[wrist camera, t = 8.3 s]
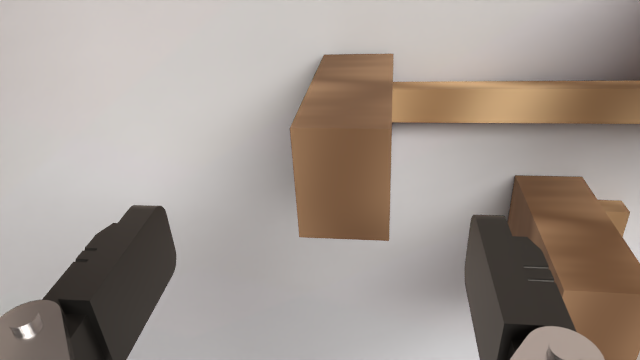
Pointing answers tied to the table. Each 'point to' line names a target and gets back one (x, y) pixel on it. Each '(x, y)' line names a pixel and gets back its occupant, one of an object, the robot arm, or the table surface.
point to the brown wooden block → (584, 257)
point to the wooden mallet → (410, 106)
